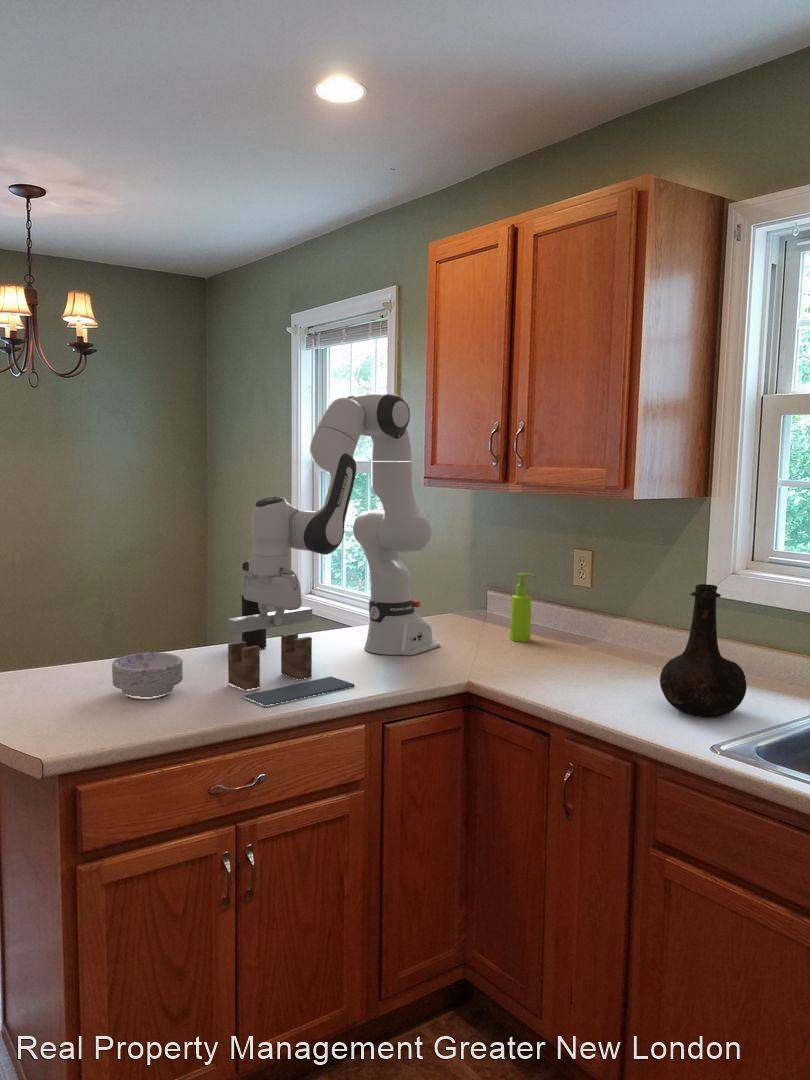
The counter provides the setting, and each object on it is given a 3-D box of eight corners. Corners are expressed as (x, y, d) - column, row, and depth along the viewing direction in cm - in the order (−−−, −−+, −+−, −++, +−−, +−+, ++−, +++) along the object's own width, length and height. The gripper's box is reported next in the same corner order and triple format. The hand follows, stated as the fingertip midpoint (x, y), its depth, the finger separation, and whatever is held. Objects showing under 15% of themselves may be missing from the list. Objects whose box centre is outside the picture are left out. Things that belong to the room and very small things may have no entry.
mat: (331, 678, 203) (331, 676, 203) (354, 686, 197) (354, 684, 197) (242, 698, 186) (242, 695, 186) (265, 707, 180) (265, 704, 180)
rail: (305, 618, 208) (305, 606, 207) (312, 620, 206) (312, 608, 205) (228, 631, 193) (227, 618, 192) (234, 633, 191) (234, 620, 190)
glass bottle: (727, 731, 169) (735, 595, 166) (644, 712, 181) (650, 585, 178) (756, 711, 183) (764, 585, 180) (677, 695, 194) (683, 576, 192)
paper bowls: (155, 707, 179) (155, 671, 178) (97, 699, 184) (97, 664, 183) (196, 689, 193) (196, 655, 192) (141, 681, 198) (141, 649, 197)
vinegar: (261, 651, 230) (260, 579, 228) (238, 649, 232) (237, 578, 230) (269, 645, 237) (269, 576, 235) (247, 644, 238) (247, 574, 236)
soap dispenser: (534, 642, 247) (537, 575, 245) (511, 641, 247) (513, 574, 245) (532, 637, 253) (534, 572, 250) (509, 637, 253) (511, 572, 251)
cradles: (294, 671, 209) (294, 632, 208) (311, 677, 204) (311, 637, 203) (228, 685, 197) (228, 643, 195) (245, 691, 191) (244, 649, 190)
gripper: (307, 569, 192) (308, 628, 194) (258, 560, 207) (259, 615, 209) (285, 572, 188) (285, 632, 189) (236, 562, 203) (237, 618, 204)
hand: (271, 623), depth 199 cm, fingers closed on rail, 3 cm apart
